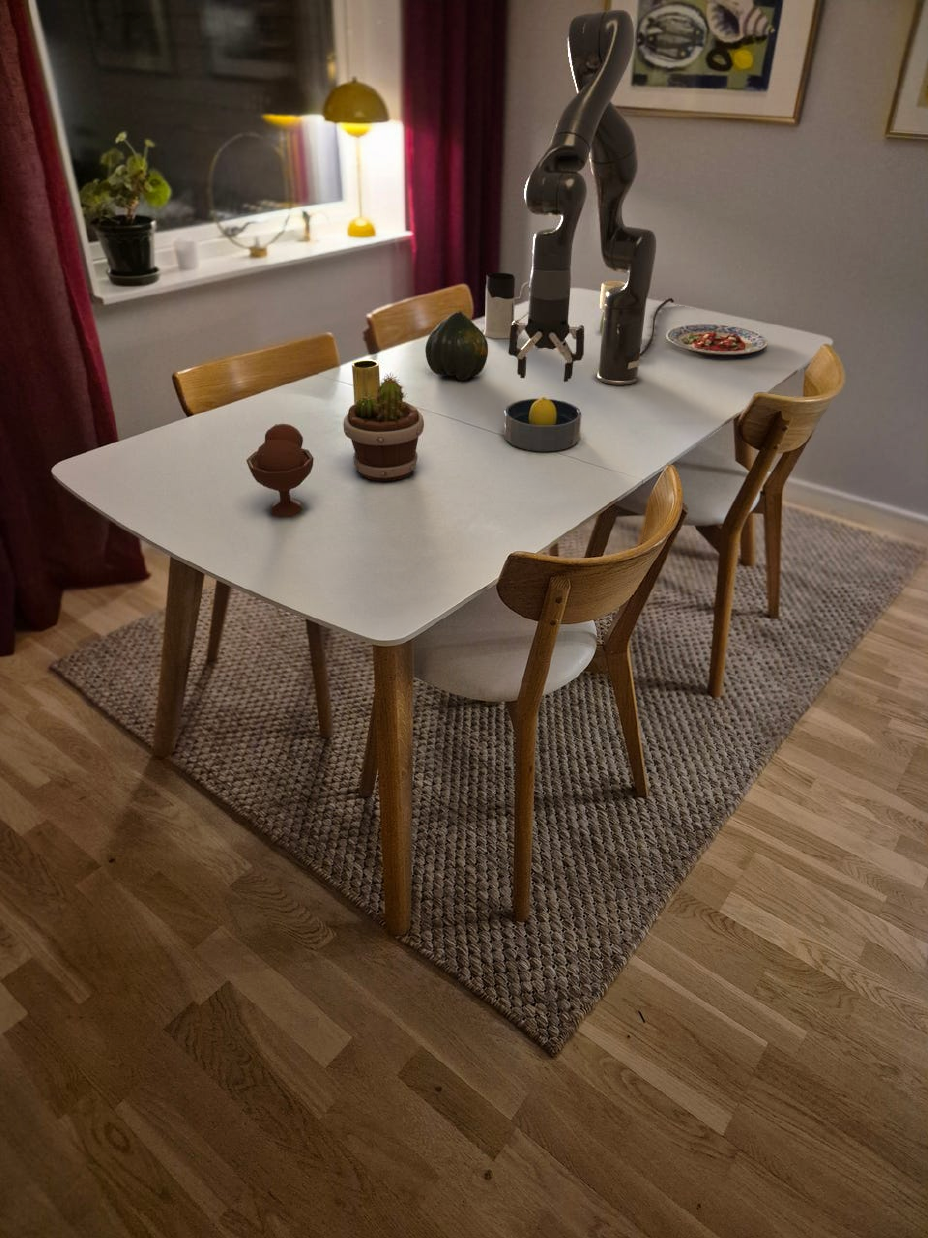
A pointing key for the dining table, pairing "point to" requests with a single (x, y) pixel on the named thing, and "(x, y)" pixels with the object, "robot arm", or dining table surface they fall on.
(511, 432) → the bowl
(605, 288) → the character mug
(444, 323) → the squash
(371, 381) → the vase
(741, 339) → the ceramic plate
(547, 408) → the lemon
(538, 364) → the dining table surface
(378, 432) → the flowerpot
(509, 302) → the glass holder
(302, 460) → the ice cream bowl
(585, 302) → the dining table surface
